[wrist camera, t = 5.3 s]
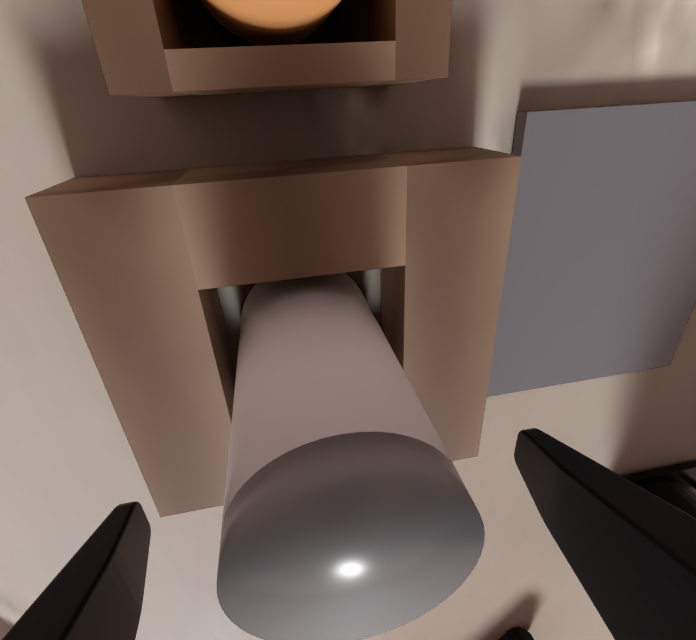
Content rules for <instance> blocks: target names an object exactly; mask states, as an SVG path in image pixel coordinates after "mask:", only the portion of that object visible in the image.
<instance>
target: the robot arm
mask: <svg viewBox="0 0 696 640" xmlns="http://www.w3.org/2000/svg"><path fill="white" fill-rule="evenodd" d="M514 458H515V462H516V465H517V467H518V469H519V471H520V473H521V475H522V477H523V479H524V481H525V483H526V486H527V488H528V490H529V492H530V494H531V496H532V498H533V500H534V502H535V504H536V506H537V509H538V511H539V513H540V515H541V517H542V519H543V521H544V522H545V524H546V526H547V528H548V529H549V531H550V533H551V534H552V536H553V538H554V539H555V541H556V543H557V544H558V546H559V548H560V549H561V551H562V553H563V554H564V556H565V558H566V559H567V561H568V563H569V564H570V566H571V568H572V569H573V571H574V573H575V574H576V576H577V577H578V579H579V581H580V582H581V584H582V586H583V587H584V589H585V591H586V592H587V594H588V596H589V597H590V599H591V601H592V602H593V604H594V606H595V607H596V609H597V611H598V612H599V614H600V616H601V617H602V619H603V621H604V622H605V624H606V626H607V627H608V629H609V631H610V632H611V634H612V635H613V637H614V639H615V640H696V461H695V462H690V463H685V464H681V465H676V466H671V467H666V468H662V469H657V470H652V471H647V472H643V473H638V474H633V475H629V476H624V477H622V476H620V475H618V474H616V473H615V472H613V471H611V470H609V469H608V468H606V467H604V466H602V465H601V464H599V463H597V462H595V461H594V460H592V459H590V458H588V457H586V456H585V455H583V454H581V453H579V452H578V451H576V450H574V449H572V448H571V447H569V446H567V445H565V444H564V443H562V442H560V441H558V440H557V439H555V438H553V437H551V436H549V435H548V434H546V433H544V432H542V431H541V430H539V429H536V428H532V429H526V430H522V431H520V432H519V433H518V437H517V442H516V447H515V452H514ZM150 536H151V530H150V524H149V522H148V520H147V517H146V515H145V513H144V511H143V508H142V506H141V504H140V503H139V502H130V503H125V504H120V505H118V506H117V507H115V509H114V510H113V511H112V512H111V513H110V514H109V515H108V517H107V518H106V519H105V520H104V521H103V522H102V524H101V525H100V526H99V527H98V528H97V529H96V531H95V532H94V533H93V534H92V535H91V536H90V537H89V539H88V540H87V541H86V542H85V543H84V544H83V546H82V547H81V548H80V549H79V550H78V551H77V553H76V554H75V555H74V556H73V557H72V558H71V560H70V561H69V562H68V563H67V564H66V565H65V567H64V568H63V569H62V570H61V571H60V572H59V573H58V575H57V576H56V577H55V578H54V579H53V580H52V582H51V583H50V584H49V585H48V586H47V587H46V589H45V590H44V591H43V592H42V593H41V594H40V596H39V597H38V598H37V599H36V600H35V601H34V603H33V604H32V605H31V606H30V607H29V608H28V609H27V611H26V612H25V613H24V614H23V615H22V616H21V618H20V619H19V620H18V621H17V622H16V623H15V625H14V626H13V627H12V628H11V629H10V631H9V632H8V633H7V634H6V635H5V636H4V637H3V639H2V640H135V638H136V633H137V629H138V624H139V619H140V614H141V609H142V602H143V595H144V586H145V578H146V570H147V561H148V553H149V544H150Z"/></svg>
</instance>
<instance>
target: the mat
mask: <svg viewBox="0 0 696 640" xmlns="http://www.w3.org/2000/svg"><path fill="white" fill-rule="evenodd" d="M512 155H517V156H521V163H520V170H519V177H518V184H517V191H516V197H515V204H514V211H513V218H512V225H511V232H510V239H509V246H508V252H507V259H506V266H505V273H504V280H503V287H502V294H501V301H500V307H499V314H498V321H497V328H496V335H495V342H494V349H493V356H492V362H491V369H490V376H489V383H488V390H487V397H489V396H495V395H501V394H506V393H512V392H518V391H524V390H530V389H536V388H541V387H547V386H553V385H559V384H565V383H571V382H577V381H582V380H588V379H594V378H600V377H606V376H612V375H617V374H623V373H629V372H635V371H641V370H647V369H652V368H658V367H664V366H670V364H671V362H672V359H673V357H674V354H675V352H676V349H677V347H678V344H679V342H680V339H681V337H682V334H683V332H684V329H685V327H686V325H687V322H688V320H689V317H690V315H691V312H692V310H693V307H694V305H695V302H696V100H691V101H676V102H661V103H646V104H631V105H616V106H601V107H586V108H570V109H555V110H540V111H525V112H517V119H516V127H515V134H514V142H513V149H512Z"/></svg>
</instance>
